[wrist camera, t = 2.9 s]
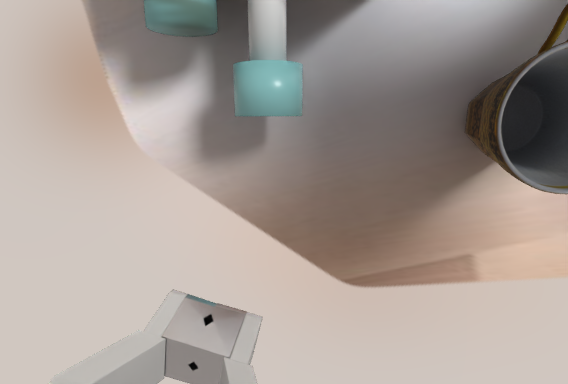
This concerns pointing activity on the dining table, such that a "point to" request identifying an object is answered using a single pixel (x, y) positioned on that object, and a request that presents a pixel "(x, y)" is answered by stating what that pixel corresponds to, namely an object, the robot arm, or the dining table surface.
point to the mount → (181, 17)
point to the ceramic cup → (528, 117)
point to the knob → (267, 66)
